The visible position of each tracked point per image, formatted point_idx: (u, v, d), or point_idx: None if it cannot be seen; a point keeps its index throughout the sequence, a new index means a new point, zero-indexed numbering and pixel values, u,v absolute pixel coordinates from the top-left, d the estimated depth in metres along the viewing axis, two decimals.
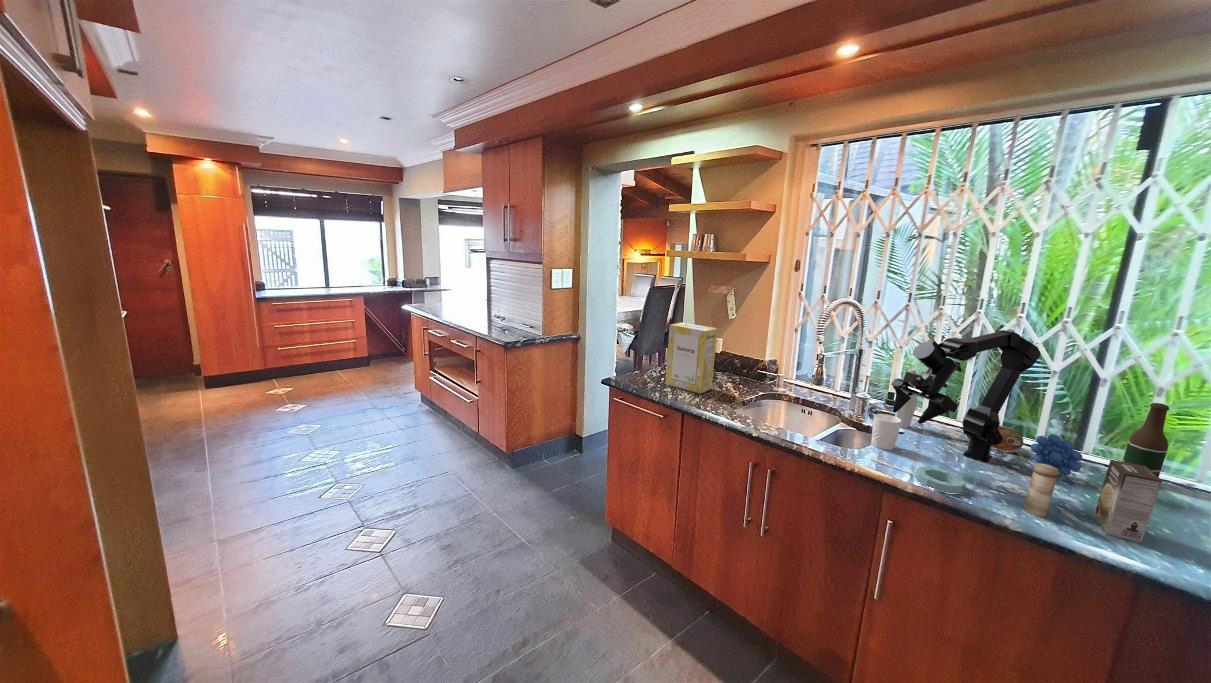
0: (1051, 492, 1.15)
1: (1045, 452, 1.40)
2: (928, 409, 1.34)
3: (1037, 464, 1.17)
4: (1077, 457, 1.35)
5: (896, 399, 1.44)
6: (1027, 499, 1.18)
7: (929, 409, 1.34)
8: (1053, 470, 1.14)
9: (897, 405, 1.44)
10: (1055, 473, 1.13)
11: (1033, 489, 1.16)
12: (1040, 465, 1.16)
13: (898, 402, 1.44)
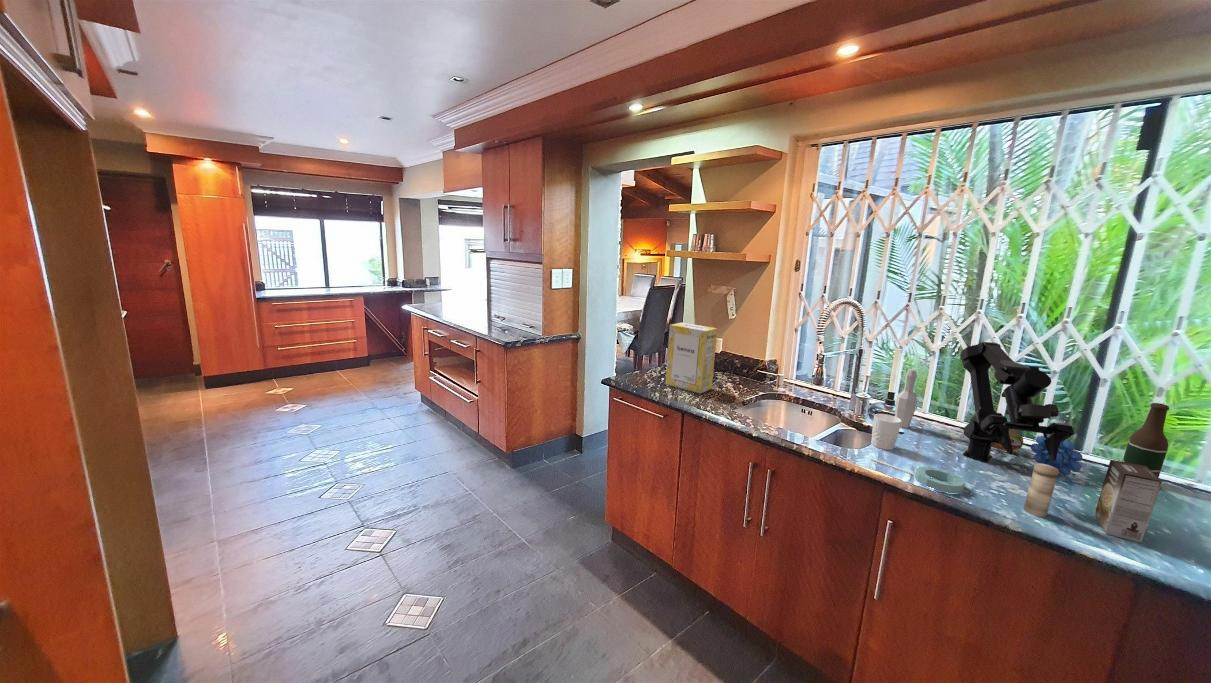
0: (1051, 492, 1.15)
1: (1045, 452, 1.40)
2: (1056, 442, 1.21)
3: (1037, 464, 1.17)
4: (1077, 457, 1.35)
5: (1007, 438, 1.24)
6: (1027, 499, 1.18)
7: (1058, 442, 1.21)
8: (1053, 470, 1.14)
9: None
10: (1055, 473, 1.13)
11: (1033, 489, 1.16)
12: (1040, 465, 1.16)
13: None
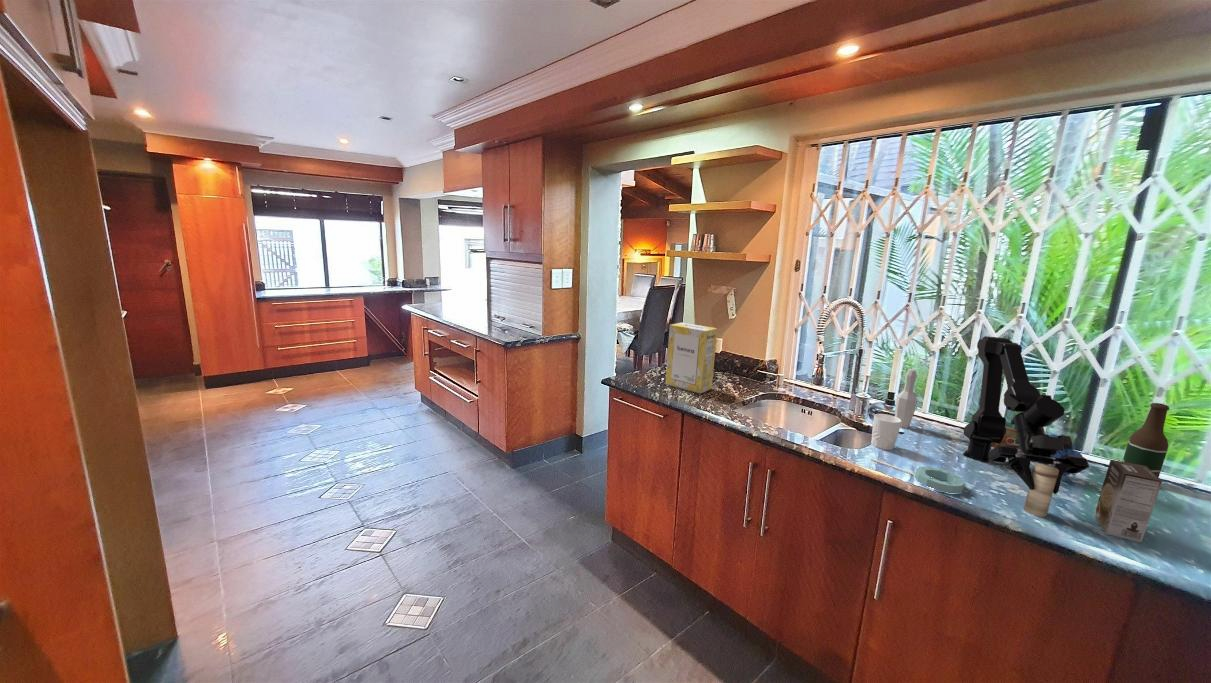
0: (1051, 492, 1.15)
1: None
2: (1058, 474, 1.16)
3: (1037, 464, 1.17)
4: None
5: (1028, 473, 1.17)
6: (1027, 499, 1.18)
7: (1060, 474, 1.15)
8: (1053, 470, 1.14)
9: None
10: (1055, 473, 1.13)
11: None
12: (1040, 465, 1.16)
13: None
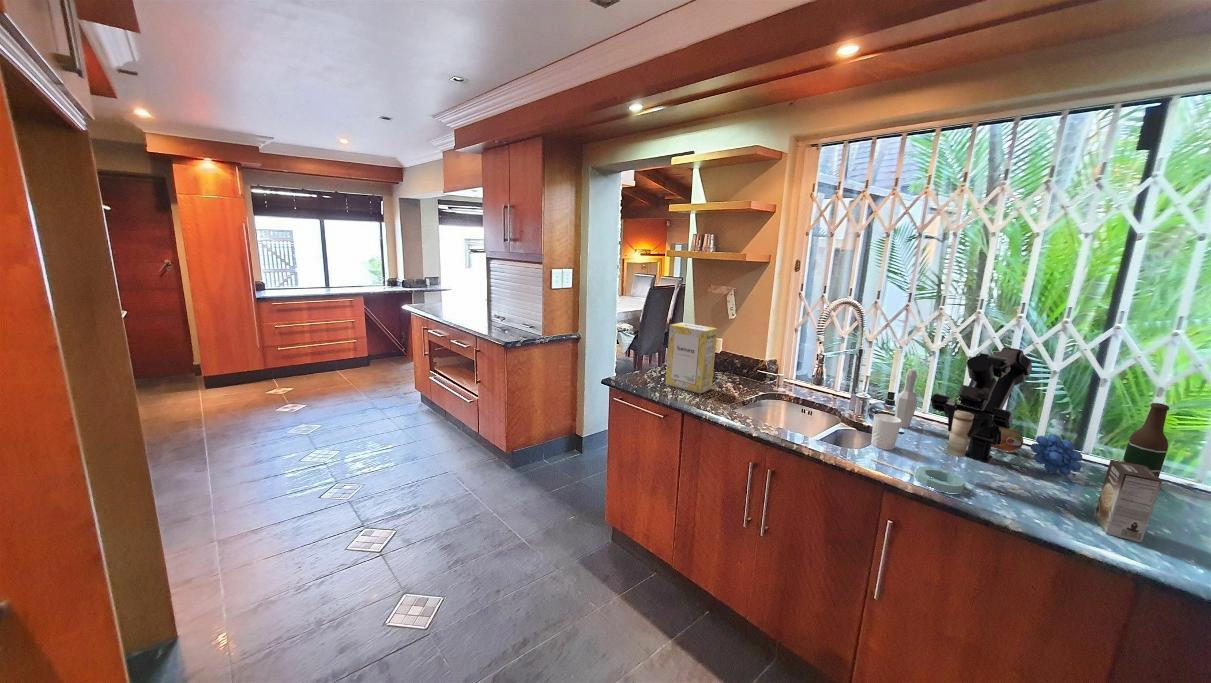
0: (963, 434, 1.31)
1: (1045, 452, 1.40)
2: (977, 422, 1.31)
3: (959, 411, 1.34)
4: (1077, 457, 1.35)
5: (950, 417, 1.35)
6: None
7: (979, 422, 1.30)
8: (965, 415, 1.31)
9: None
10: (965, 417, 1.30)
11: None
12: (960, 411, 1.33)
13: (952, 420, 1.35)
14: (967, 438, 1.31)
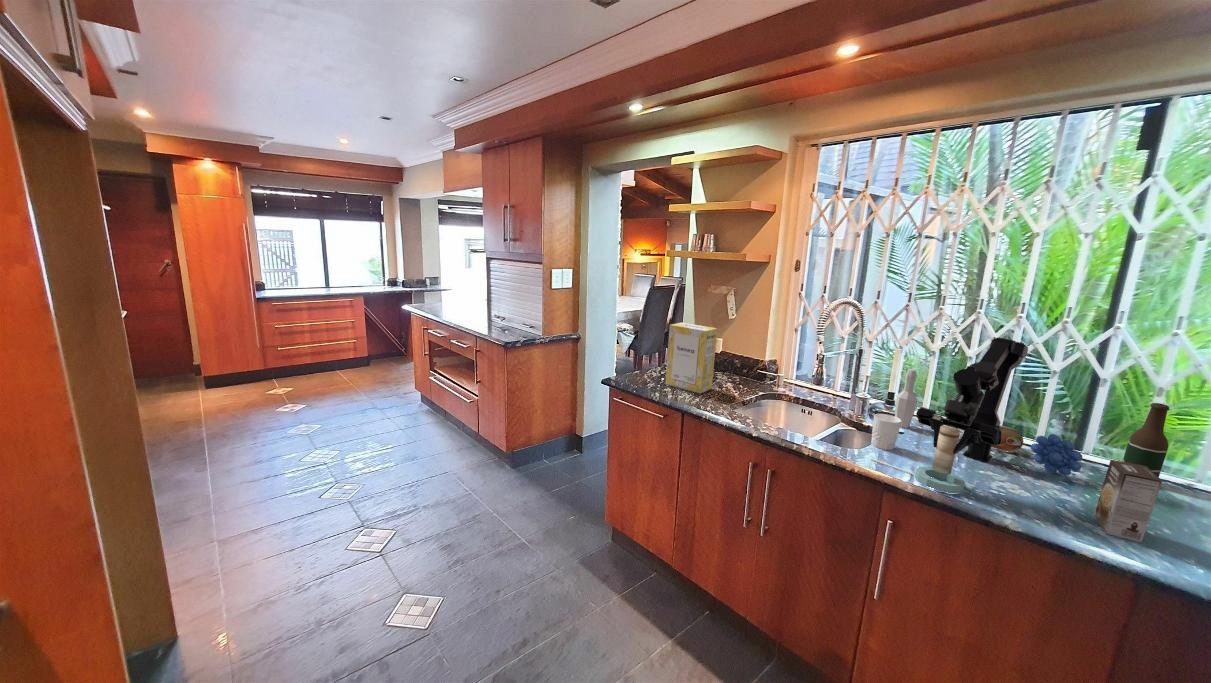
0: (949, 451, 1.26)
1: (1045, 452, 1.40)
2: (963, 438, 1.25)
3: (945, 426, 1.29)
4: (1077, 457, 1.35)
5: (935, 432, 1.30)
6: None
7: (965, 438, 1.25)
8: (951, 430, 1.26)
9: (937, 439, 1.30)
10: (951, 433, 1.25)
11: (936, 447, 1.29)
12: (946, 427, 1.28)
13: None
14: (953, 454, 1.26)
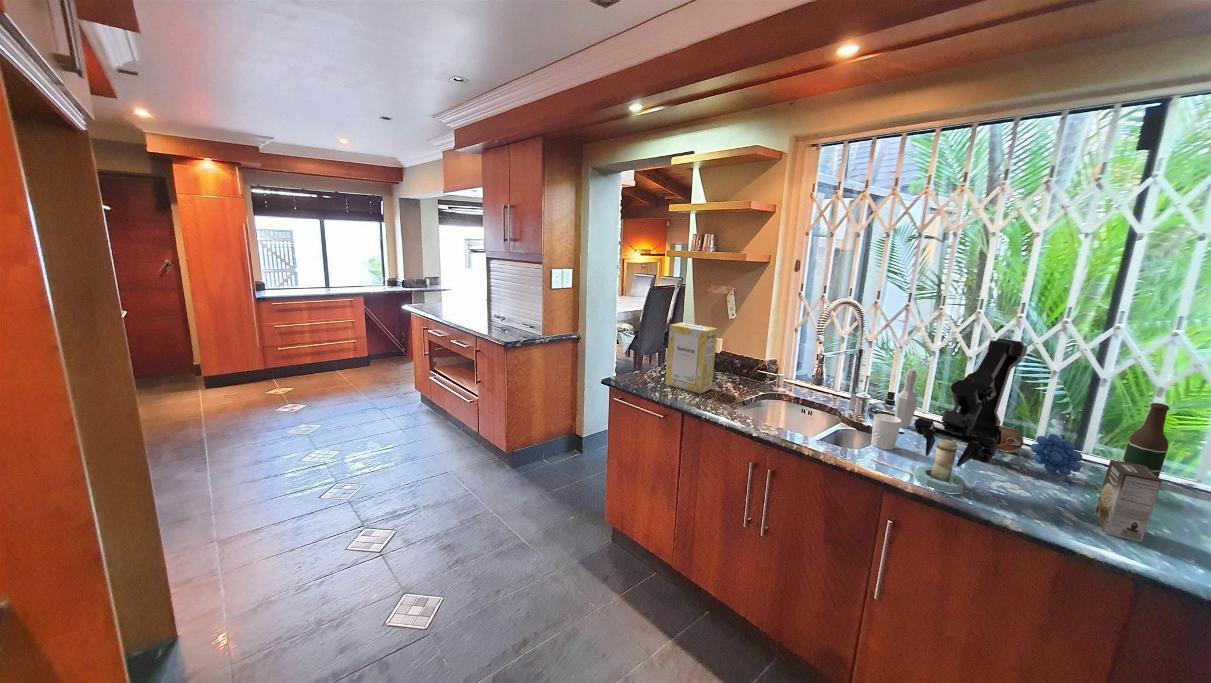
0: (946, 465, 1.27)
1: (1045, 452, 1.40)
2: (967, 451, 1.25)
3: (943, 440, 1.30)
4: (1077, 457, 1.35)
5: (928, 441, 1.32)
6: None
7: (969, 451, 1.25)
8: (948, 445, 1.26)
9: (929, 448, 1.31)
10: (948, 447, 1.26)
11: None
12: (944, 441, 1.29)
13: (930, 444, 1.31)
14: (950, 469, 1.27)
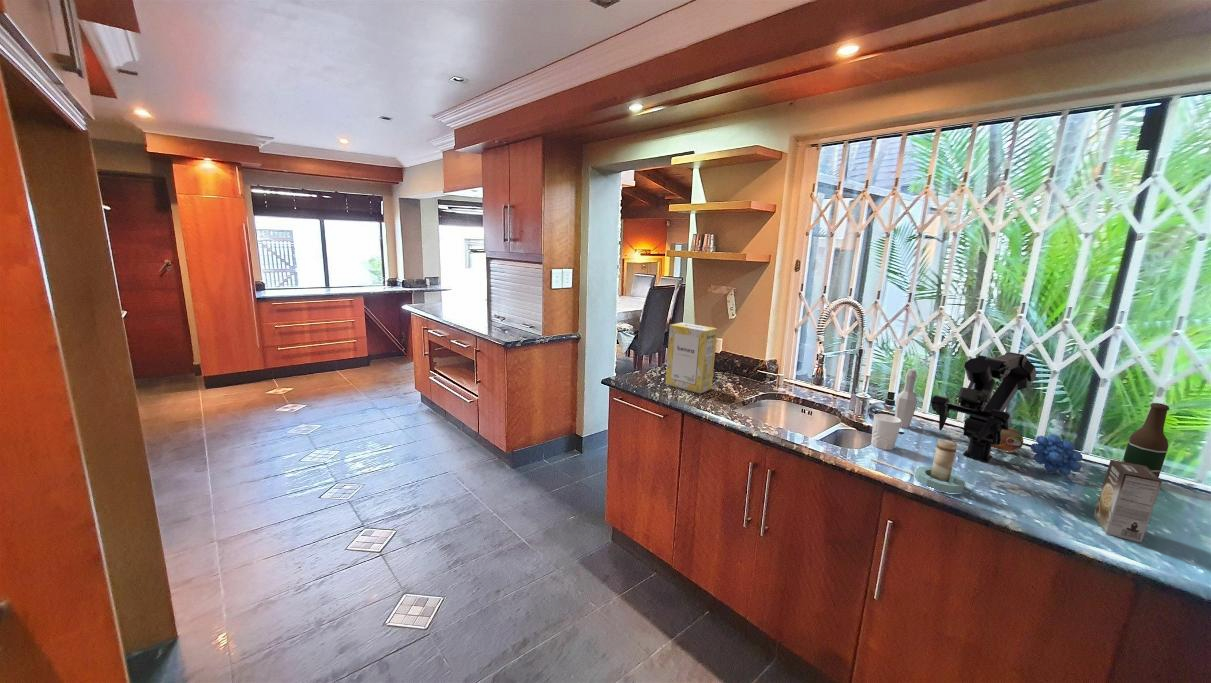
0: (946, 465, 1.27)
1: (1045, 452, 1.40)
2: (986, 426, 1.30)
3: (942, 440, 1.30)
4: (1077, 457, 1.35)
5: (941, 416, 1.39)
6: None
7: (988, 426, 1.30)
8: (948, 444, 1.26)
9: (943, 422, 1.38)
10: (948, 447, 1.26)
11: (933, 461, 1.30)
12: (943, 441, 1.29)
13: (943, 419, 1.38)
14: (950, 469, 1.27)
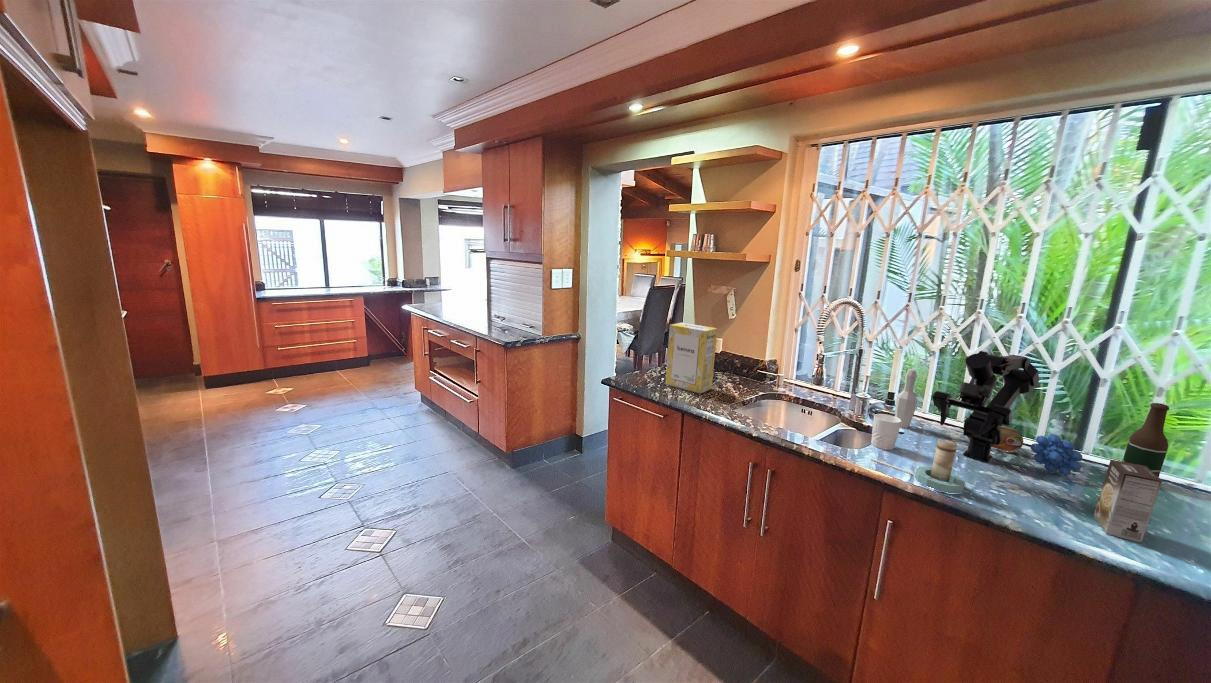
0: (946, 465, 1.27)
1: (1045, 452, 1.40)
2: (987, 421, 1.31)
3: (942, 440, 1.29)
4: (1077, 457, 1.35)
5: (942, 411, 1.39)
6: None
7: (989, 421, 1.31)
8: (948, 445, 1.26)
9: (944, 418, 1.39)
10: (948, 447, 1.26)
11: (933, 461, 1.30)
12: (943, 441, 1.29)
13: (945, 415, 1.39)
14: (950, 469, 1.27)
